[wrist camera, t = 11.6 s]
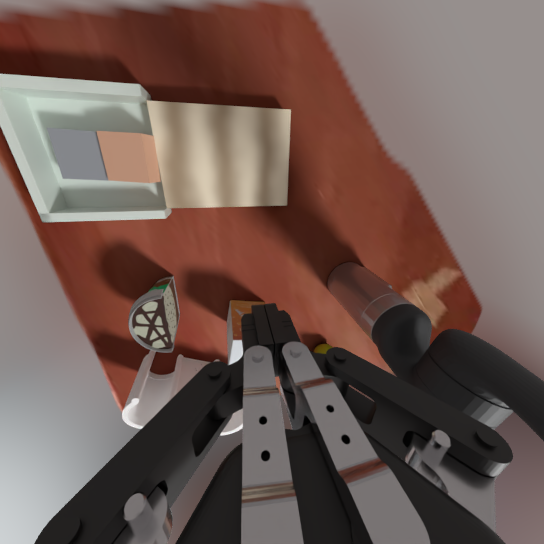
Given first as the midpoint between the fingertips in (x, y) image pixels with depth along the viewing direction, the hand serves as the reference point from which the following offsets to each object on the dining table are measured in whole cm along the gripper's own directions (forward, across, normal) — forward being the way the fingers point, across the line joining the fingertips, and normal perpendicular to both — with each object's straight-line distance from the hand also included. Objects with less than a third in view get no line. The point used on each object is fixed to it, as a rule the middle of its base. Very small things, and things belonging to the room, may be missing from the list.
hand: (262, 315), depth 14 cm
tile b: (+30, +21, -9) cm, 38 cm away
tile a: (+28, +14, -9) cm, 33 cm away
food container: (+31, +16, +16) cm, 38 cm away
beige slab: (+31, +2, -9) cm, 32 cm away
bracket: (+31, +12, +38) cm, 51 cm away
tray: (+30, +20, -9) cm, 37 cm away
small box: (+31, -1, +22) cm, 38 cm away
